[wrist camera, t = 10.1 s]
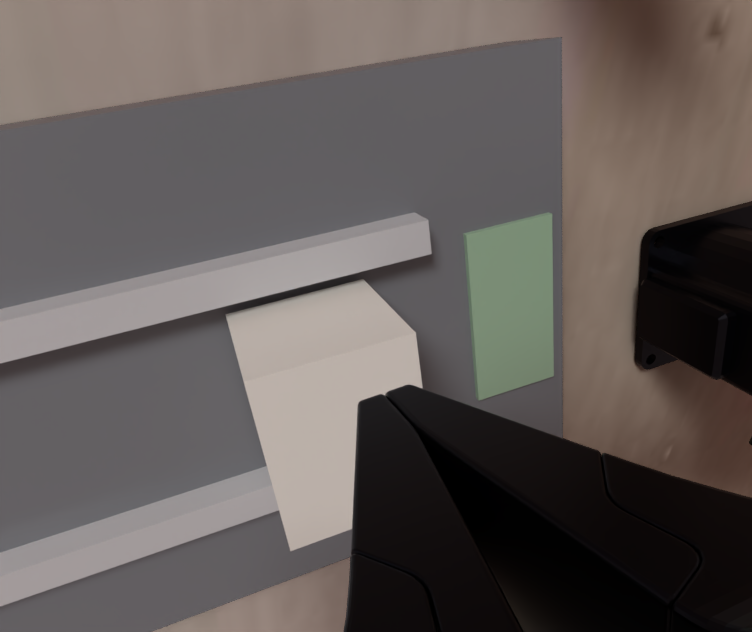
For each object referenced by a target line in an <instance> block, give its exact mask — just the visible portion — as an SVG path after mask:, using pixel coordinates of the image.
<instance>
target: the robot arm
mask: <svg viewBox="0 0 752 632" xmlns="http://www.w3.org/2000/svg"><path fill="white" fill-rule="evenodd" d="M656 238H657V241H656V243H655V244H654V242H655V240H656ZM675 360H680V361H682V362H684V363H685V364H687V365H689V366H691V367H693V368H694V369H696V370H698V371H700V372H702V373H703V374H705V375H707V376H709V377H711V378H712V379H715V380H718V379H722V380H724V381H726V382H728V383H729V384H731V385H733V386H735V387H737V388H739V389H740V390H742V391H744V392H746V393H748V394H749V395H751V396H752V201H751V202H747V203H743V204H740V205H736V206H732V207H729V208H725V209H721V210H717V211H714V212H710V213H706V214H702V215H699V216H695V217H691V218H688V219H684V220H680V221H676V222H673V223H669V224H665V225H662V226H658V227H654V228H652V229H650V230H648V231H647V232H646V233H645V235H644V237H643V240H642V252H641V269H640V286H639V303H638V320H637V337H636V354H635V361H636V363H637V364H638V365H639V366H641V367H642V368H644V369H652V368H655V367H658V366H661V365H664V364H667V363H669V362H672V361H675ZM749 443H750V444H751V445H752V437H751V439H750V441H749ZM344 632H752V498H750V497H746V496H743V495H739V494H735V493H731V492H728V491H724V490H720V489H717V488H713V487H710V486H706V485H703V484H699V483H696V482H692V481H689V480H686V479H682V478H679V477H675V476H672V475H669V474H666V473H663V472H660V471H657V470H653V469H650V468H647V467H644V466H641V465H638V464H635V463H632V462H629V461H626V460H624V459H621V458H618V457H615V456H612V455H609V454H607V453H603V454H602V455H601V453H600V452H599V451H598V450H595V449H592V448H589V447H586V446H583V445H581V444H578V443H575V442H572V441H569V440H567V439H564V438H561V437H558V436H555V435H552V434H550V433H547V432H544V431H541V430H538V429H535V428H533V427H530V426H527V425H524V424H521V423H518V422H516V421H513V420H510V419H507V418H504V417H501V416H499V415H496V414H493V413H490V412H487V411H484V410H482V409H479V408H476V407H473V406H470V405H468V404H465V403H462V402H459V401H456V400H453V399H451V398H448V397H445V396H442V395H439V394H436V393H434V392H431V391H428V390H425V389H422V388H419V387H417V386H414V385H410V384H409V385H404V386H402V387H399V388H396V389H393V390H390V391H388V392H387V393H386V394H385V395H383V394H378V395H376V396H373V397H370V398H367V399H364V400H361V401H359V403H358V407H357V429H356V452H355V474H354V496H353V519H352V541H351V558H350V576H349V589H348V601H347V612H346V620H345V626H344Z"/></svg>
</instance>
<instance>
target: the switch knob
mask: <svg viewBox="0 0 752 632" xmlns="http://www.w3.org/2000/svg"><path fill="white" fill-rule="evenodd" d="M225 315H226V318H227V322H228V326H229V330H230V333H231V337H232V341H233V344H234V348H235V352H236V355H237V359H238V363H239V367H240V370H241V374H242V378H243V381H244V385H245V389H246V392H247V396H248V399H249V403H250V407H251V410H252V414H253V418H254V421H255V425H256V428H257V432H258V436H259V439H260V443H261V446H262V450H263V454H264V457H265V461H266V465H267V468H268V472H269V475H270V479H271V483H272V486H273V490H274V494H275V497H276V501H277V504H278V508H279V512H280V515H281V519H282V522H283V526H284V530H285V533H286V537H287V541H288V544H289V548H290V551H293V550H295V549H298V548H301V547H304V546H306V545H309V544H312V543H315V542H317V541H320V540H323V539H326V538H328V537H331V536H334V535H337V534H339V533H342V532H345V531H348V530H350V529H352V519H353V496H354V474H355V452H356V429H357V407H358V403H359V401H361V400H364V399H367V398H370V397H373V396H376V395H378V394H383V395H385V394H386V393H387V392H388V391H390V390H393V389H396V388H399V387H402V386H404V385H409V384H410V385H414V386H417V387H419V388H422V389H423V387H422V379H421V371H420V363H419V354H418V346H417V338H416V332H415V331H414V330H413V329H412V328H411V327H410V326H409V325H408V324H407V323H406V322H405V321H404V320H403V319H402V318H401V317H400V316H399V315H398V314H397V313H396V312H395V311H394V310H393V309H392V308H391V307H390V306H389V305H388V304H387V303H386V302H385V301H384V300H383V299H382V298H381V297H380V296H379V295H378V294H377V293H376V292H375V291H374V290H373V289H372V288H371V287H370V286H369V285H368V283H367V282H366V281H365V280H364V279H361V280H357V281H353V282H349V283H345V284H341V285H337V286H334V287H330V288H326V289H322V290H318V291H314V292H310V293H306V294H303V295H299V296H295V297H291V298H287V299H283V300H279V301H275V302H271V303H268V304H264V305H260V306H256V307H252V308H248V309H244V310H240V311H236V312H233V313H229V314H225Z"/></svg>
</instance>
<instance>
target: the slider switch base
mask: <svg viewBox="0 0 752 632" xmlns="http://www.w3.org/2000/svg"><path fill="white" fill-rule="evenodd" d="M361 279H364V280H365V281H366V282H367V283H368V285H369V286H370V287H371V288H372V289H373V290H374V291H375V292H376V293H377V294H378V295H379V296H380V297H381V298H382V299H383V300H384V301H385V302H386V303H387V304H388V305H389V306H390V307H391V308H392V309H393V310H394V311H395V312H396V313H397V314H398V315H399V316H400V317H401V318H402V319H403V320H404V321H405V322H406V323H407V324H408V325H409V326H410V327H411V328H412V329H413V330H414V331H415V332H416V338H417V346H418V354H419V363H420V371H421V379H422V387H423V389H425V390H428V391H431V392H434V393H436V394H439V395H442V396H445V397H448V398H451V399H453V400H456V401H459V402H462V403H465V404H468V405H470V406H473V407H476V408H479V409H482V410H484V411H487V412H490V413H493V414H496V415H499V416H501V417H504V418H507V419H510V420H513V421H516V422H518V423H521V424H524V425H527V426H530V427H533V428H535V429H538V430H541V431H544V432H547V433H550V434H552V435H555V436H558V437H561V438H563V399H562V37H557V38H545V39H534V40H523V41H511V42H503V43H497V44H491V45H485V46H479V47H473V48H466V49H460V50H454V51H448V52H442V53H436V54H430V55H424V56H418V57H412V58H406V59H400V60H394V61H387V62H381V63H375V64H369V65H363V66H357V67H351V68H345V69H339V70H333V71H327V72H321V73H315V74H308V75H302V76H296V77H290V78H284V79H278V80H272V81H266V82H260V83H254V84H248V85H242V86H236V87H229V88H223V89H217V90H211V91H205V92H199V93H193V94H187V95H181V96H175V97H169V98H163V99H157V100H150V101H144V102H138V103H132V104H126V105H120V106H114V107H108V108H102V109H96V110H90V111H84V112H78V113H72V114H65V115H59V116H53V117H47V118H41V119H35V120H29V121H23V122H17V123H11V124H5V125H0V632H152V631H155V630H157V629H160V628H163V627H165V626H168V625H171V624H173V623H176V622H178V621H181V620H184V619H186V618H189V617H192V616H194V615H197V614H200V613H202V612H205V611H208V610H210V609H213V608H216V607H218V606H221V605H224V604H226V603H229V602H232V601H234V600H237V599H240V598H242V597H245V596H248V595H250V594H253V593H256V592H258V591H261V590H264V589H266V588H269V587H272V586H274V585H277V584H279V583H282V582H285V581H287V580H290V579H293V578H295V577H298V576H301V575H303V574H306V573H309V572H311V571H314V570H317V569H319V568H322V567H325V566H327V565H330V564H333V563H335V562H338V561H341V560H343V559H346V558H349V557H351V541H352V529H350V530H348V531H345V532H342V533H339V534H337V535H334V536H331V537H328V538H326V539H323V540H320V541H317V542H315V543H312V544H309V545H306V546H304V547H301V548H298V549H295V550H293V551H290V548H289V544H288V541H287V537H286V533H285V530H284V526H283V522H282V519H281V515H280V512H279V508H278V504H277V501H276V497H275V494H274V490H273V486H272V483H271V479H270V475H269V472H268V468H267V465H266V461H265V457H264V454H263V450H262V446H261V443H260V439H259V436H258V432H257V428H256V425H255V421H254V418H253V414H252V410H251V407H250V403H249V399H248V396H247V392H246V389H245V385H244V381H243V378H242V374H241V370H240V367H239V363H238V359H237V355H236V352H235V348H234V344H233V341H232V337H231V333H230V330H229V326H228V322H227V318H226V315H225V314H229V313H233V312H236V311H240V310H244V309H248V308H252V307H256V306H260V305H264V304H268V303H271V302H275V301H279V300H283V299H287V298H291V297H295V296H299V295H303V294H306V293H310V292H314V291H318V290H322V289H326V288H330V287H334V286H337V285H341V284H345V283H349V282H353V281H357V280H361Z"/></svg>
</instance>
